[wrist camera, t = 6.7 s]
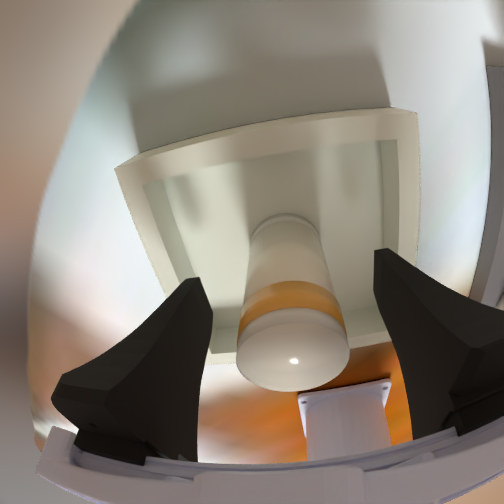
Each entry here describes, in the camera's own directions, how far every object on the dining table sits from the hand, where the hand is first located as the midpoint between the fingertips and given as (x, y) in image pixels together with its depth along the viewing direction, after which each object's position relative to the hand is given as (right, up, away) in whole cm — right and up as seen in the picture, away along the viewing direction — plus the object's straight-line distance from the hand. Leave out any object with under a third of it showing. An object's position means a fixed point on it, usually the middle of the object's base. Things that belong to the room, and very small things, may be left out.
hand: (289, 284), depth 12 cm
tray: (0, +2, +3) cm, 4 cm away
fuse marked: (0, +2, +3) cm, 3 cm away
